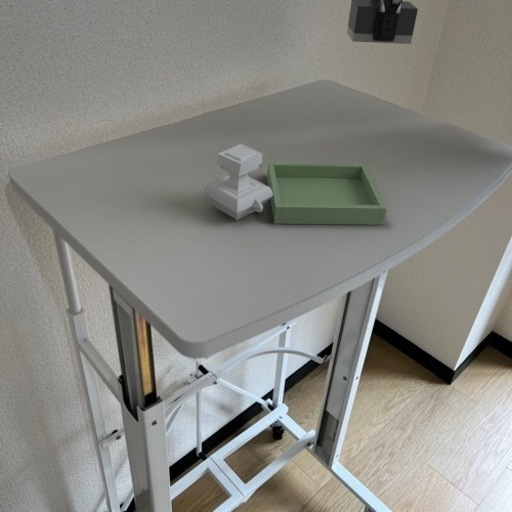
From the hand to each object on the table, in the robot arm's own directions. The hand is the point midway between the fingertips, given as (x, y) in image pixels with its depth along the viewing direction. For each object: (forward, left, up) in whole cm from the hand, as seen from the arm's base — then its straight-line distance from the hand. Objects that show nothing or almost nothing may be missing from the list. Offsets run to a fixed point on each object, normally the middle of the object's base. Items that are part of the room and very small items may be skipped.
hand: (379, 34), depth 85 cm
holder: (+10, +21, -17) cm, 29 cm away
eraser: (0, 0, -1) cm, 1 cm away
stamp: (+22, +24, -18) cm, 37 cm away
